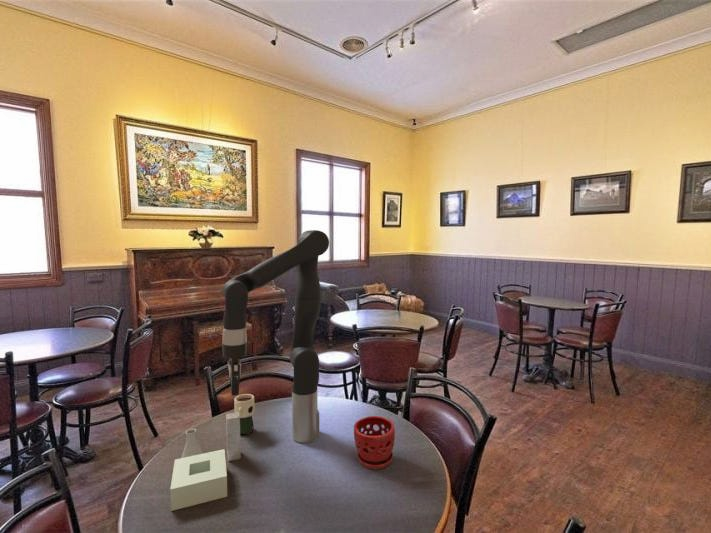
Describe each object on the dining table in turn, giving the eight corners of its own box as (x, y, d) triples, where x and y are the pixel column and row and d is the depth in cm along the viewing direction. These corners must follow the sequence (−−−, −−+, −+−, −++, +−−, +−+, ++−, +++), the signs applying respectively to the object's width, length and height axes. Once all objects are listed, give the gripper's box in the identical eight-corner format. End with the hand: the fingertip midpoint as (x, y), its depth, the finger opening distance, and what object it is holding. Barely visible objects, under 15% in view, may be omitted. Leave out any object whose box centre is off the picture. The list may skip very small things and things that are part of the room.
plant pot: (365, 445, 125) (365, 411, 124) (400, 455, 118) (400, 420, 118) (346, 465, 113) (346, 429, 112) (384, 478, 107) (384, 440, 106)
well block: (225, 467, 112) (224, 449, 112) (227, 496, 100) (226, 475, 99) (175, 478, 107) (174, 459, 107) (171, 511, 94) (170, 489, 94)
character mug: (249, 439, 128) (249, 404, 128) (230, 439, 129) (229, 404, 128) (258, 424, 139) (258, 391, 138) (240, 423, 139) (240, 391, 139)
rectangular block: (239, 451, 121) (238, 411, 120) (240, 458, 117) (239, 417, 116) (227, 454, 119) (226, 414, 118) (227, 461, 116) (226, 419, 115)
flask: (194, 469, 112) (193, 438, 111) (174, 466, 113) (173, 435, 112) (208, 455, 119) (207, 426, 118) (189, 453, 120) (188, 424, 120)
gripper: (248, 346, 111) (248, 397, 112) (244, 335, 124) (244, 380, 125) (223, 348, 108) (222, 400, 109) (221, 336, 121) (221, 383, 122)
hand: (234, 389), depth 117 cm, fingers open, 8 cm apart
